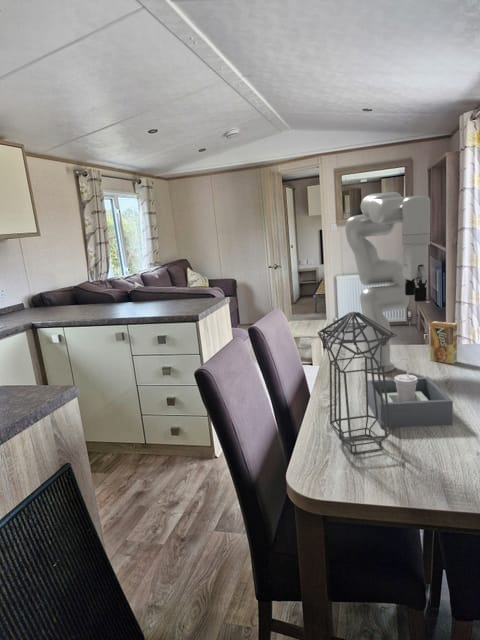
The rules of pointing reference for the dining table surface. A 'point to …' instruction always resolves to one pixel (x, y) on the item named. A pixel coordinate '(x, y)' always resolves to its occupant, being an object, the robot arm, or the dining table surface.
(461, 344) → the dining table surface
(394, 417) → the bin
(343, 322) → the geometric lantern
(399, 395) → the smoothie
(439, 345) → the candy box
